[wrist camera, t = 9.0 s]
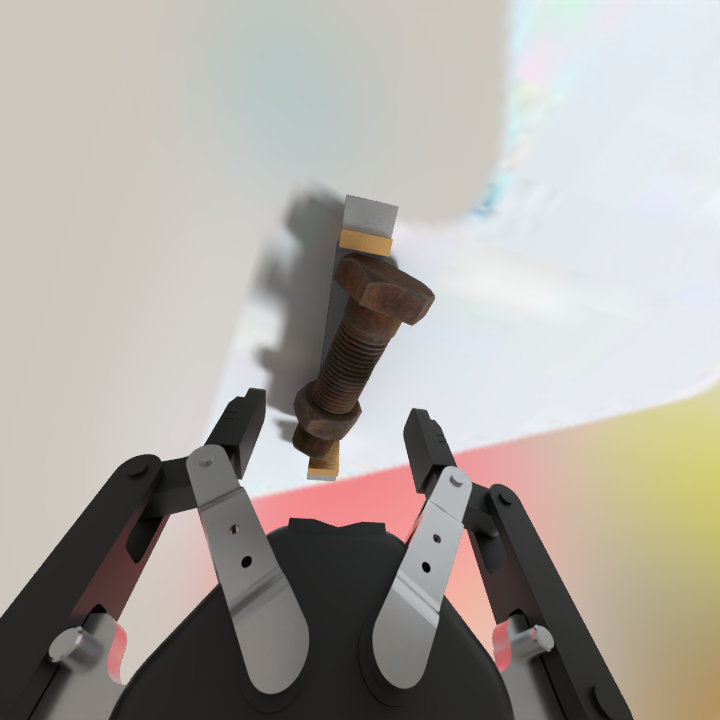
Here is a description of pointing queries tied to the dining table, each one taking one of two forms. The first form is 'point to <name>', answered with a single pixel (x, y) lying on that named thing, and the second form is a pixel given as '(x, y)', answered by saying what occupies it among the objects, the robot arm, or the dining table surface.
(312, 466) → the small wooden block
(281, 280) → the dining table surface
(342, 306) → the pad
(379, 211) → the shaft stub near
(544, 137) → the dining table surface
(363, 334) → the bolt
